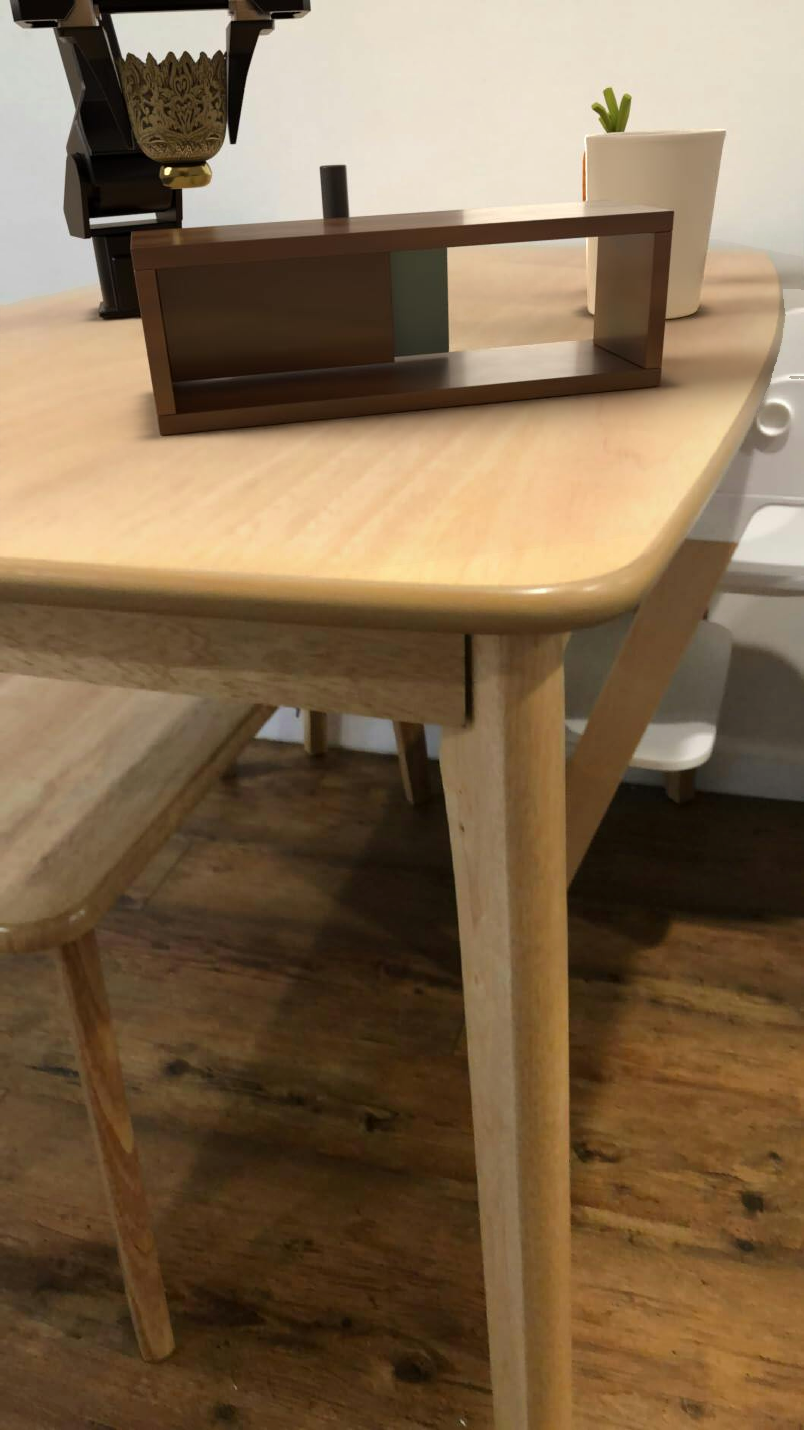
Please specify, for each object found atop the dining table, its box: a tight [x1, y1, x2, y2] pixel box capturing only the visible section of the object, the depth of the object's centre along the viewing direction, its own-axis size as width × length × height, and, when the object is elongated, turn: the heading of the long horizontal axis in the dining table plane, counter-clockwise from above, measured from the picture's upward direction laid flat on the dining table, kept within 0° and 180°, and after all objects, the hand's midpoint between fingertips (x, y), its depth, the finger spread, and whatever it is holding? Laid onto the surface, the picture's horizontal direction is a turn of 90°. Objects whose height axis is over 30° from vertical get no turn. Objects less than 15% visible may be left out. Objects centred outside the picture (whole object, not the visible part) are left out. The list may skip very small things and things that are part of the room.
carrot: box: [581, 87, 633, 202], centre depth 87 cm, size 5×5×15 cm
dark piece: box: [319, 164, 450, 357], centre depth 62 cm, size 5×13×10 cm, turn 103°
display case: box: [131, 200, 674, 436], centre depth 59 cm, size 10×28×9 cm, turn 103°
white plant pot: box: [584, 128, 727, 320], centre depth 77 cm, size 10×10×12 cm
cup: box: [113, 49, 228, 190], centre depth 71 cm, size 8×7×8 cm
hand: (182, 146), depth 72 cm, fingers closed on cup, 7 cm apart
